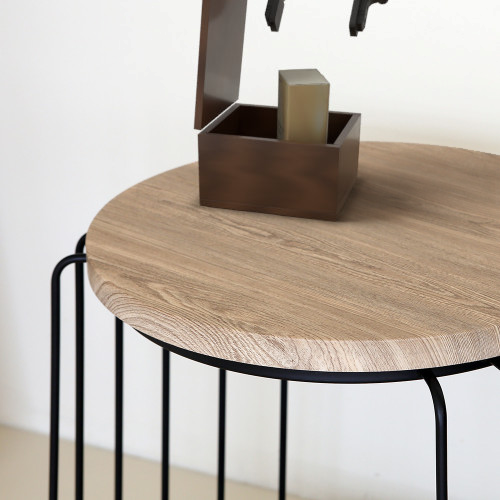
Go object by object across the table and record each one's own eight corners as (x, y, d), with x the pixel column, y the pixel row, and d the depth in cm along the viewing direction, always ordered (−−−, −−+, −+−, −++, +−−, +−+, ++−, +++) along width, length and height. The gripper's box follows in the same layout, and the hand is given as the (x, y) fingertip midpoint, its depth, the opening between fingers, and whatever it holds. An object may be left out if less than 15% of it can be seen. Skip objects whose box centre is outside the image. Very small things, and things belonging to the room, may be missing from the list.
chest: (357, 179, 91) (361, 113, 88) (335, 221, 80) (339, 147, 77) (235, 166, 95) (235, 102, 92) (199, 205, 84) (197, 134, 81)
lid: (251, -43, 84) (206, -49, 85) (212, -29, 73) (161, -37, 75) (238, 99, 91) (197, 92, 92) (200, 130, 80) (155, 121, 82)
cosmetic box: (274, 177, 90) (276, 68, 84) (312, 175, 90) (316, 67, 85) (285, 198, 84) (288, 83, 78) (326, 196, 84) (331, 81, 79)
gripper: (270, -121, 87) (239, 4, 82) (402, -120, 83) (378, 11, 78) (282, -71, 94) (254, 46, 89) (404, -69, 90) (382, 54, 85)
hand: (312, 29), depth 83 cm, fingers open, 8 cm apart
